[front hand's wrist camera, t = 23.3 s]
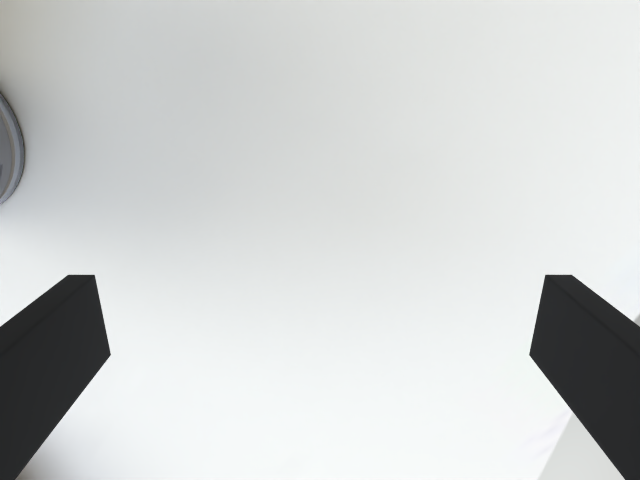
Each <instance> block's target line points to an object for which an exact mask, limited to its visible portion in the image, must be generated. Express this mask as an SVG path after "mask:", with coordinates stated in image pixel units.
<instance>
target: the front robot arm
mask: <svg viewBox="0 0 640 480" xmlns="http://www.w3.org/2000/svg"><path fill="white" fill-rule="evenodd" d="M23 164H24V146H23V140H22V135H21V132H20V128H19V125H18V123H17V120H16V118H15V116H14V114H13V112H12V110H11V108H10V106H9V104H8V103H7V101H6V100H5V98H4V97H3V96H2V94H1V93H0V204H2V203H3V202H4V201H5V200H7V199H8V198H9V196H10V195H11V194H12V193H13V191H14V190H15V188H16V187H17V185H18V183H19V180H20V178H21V174H22V170H23ZM110 355H111V354H110V349H109V344H108V339H107V334H106V329H105V324H104V319H103V314H102V309H101V304H100V299H99V294H98V289H97V284H96V279H95V275H68V276H66V277H65V278H64V279H62V280H61V281H60V282H58V283H57V284H56V285H54V286H53V287H52V288H50V289H49V290H48V291H47V292H45V293H44V294H43V295H41V296H40V297H39V298H37V299H36V300H35V301H33V302H32V303H31V304H30V305H28V306H27V307H26V308H24V309H23V310H22V311H20V312H19V313H18V314H16V315H15V316H14V317H13V318H11V319H10V320H9V321H7V322H6V323H5V324H3V325H2V326H1V327H0V480H15V479H16V477H17V476H18V475H19V474H20V472H21V471H22V470H23V468H24V467H25V466H26V464H27V463H28V462H29V461H30V459H31V458H32V457H33V455H34V454H35V453H36V451H37V450H38V449H39V448H40V446H41V445H42V444H43V442H44V441H45V440H46V438H47V437H48V436H49V435H50V433H51V432H52V431H53V429H54V428H55V427H56V425H57V424H58V423H59V422H60V420H61V419H62V418H63V416H64V415H65V414H66V412H67V411H68V410H69V408H70V407H71V406H72V405H73V403H74V402H75V401H76V399H77V398H78V397H79V395H80V394H81V393H82V392H83V390H84V389H85V388H86V386H87V385H88V384H89V382H90V381H91V380H92V379H93V377H94V376H95V375H96V373H97V372H98V371H99V369H100V368H101V367H102V366H103V364H104V363H105V362H106V360H107V359H108V358H109V356H110ZM529 355H530V356H531V358H532V359H533V360H534V362H535V363H536V364H537V366H538V367H539V368H540V369H541V371H542V372H543V373H544V375H545V376H546V377H547V379H548V380H549V381H550V382H551V384H552V385H553V386H554V388H555V389H556V390H557V392H558V393H559V394H560V395H561V397H562V398H563V399H564V401H565V402H566V403H567V405H568V406H569V407H570V409H571V410H572V411H573V412H574V414H575V415H576V416H577V418H578V419H579V420H580V422H581V423H582V424H583V425H584V427H585V428H586V429H587V431H588V432H589V433H590V435H591V436H592V437H593V438H594V440H595V441H596V442H597V444H598V445H599V446H600V448H601V449H602V450H603V451H604V453H605V454H606V455H607V457H608V458H609V459H610V461H611V462H612V463H613V464H614V466H615V467H616V468H617V470H618V471H619V472H620V473H621V475H622V476H623V477H624V479H625V480H640V327H639V326H638V325H637V324H635V323H634V322H633V321H631V320H630V319H629V318H627V317H626V316H625V315H624V314H622V313H621V312H620V311H618V310H617V309H616V308H614V307H613V306H612V305H610V304H609V303H608V302H607V301H605V300H604V299H603V298H601V297H600V296H599V295H597V294H596V293H595V292H593V291H592V290H591V289H590V288H588V287H587V286H586V285H584V284H583V283H582V282H580V281H579V280H578V279H576V278H575V277H574V276H572V275H545V279H544V284H543V289H542V294H541V299H540V304H539V309H538V314H537V319H536V324H535V329H534V334H533V339H532V344H531V349H530V354H529Z"/></svg>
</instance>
